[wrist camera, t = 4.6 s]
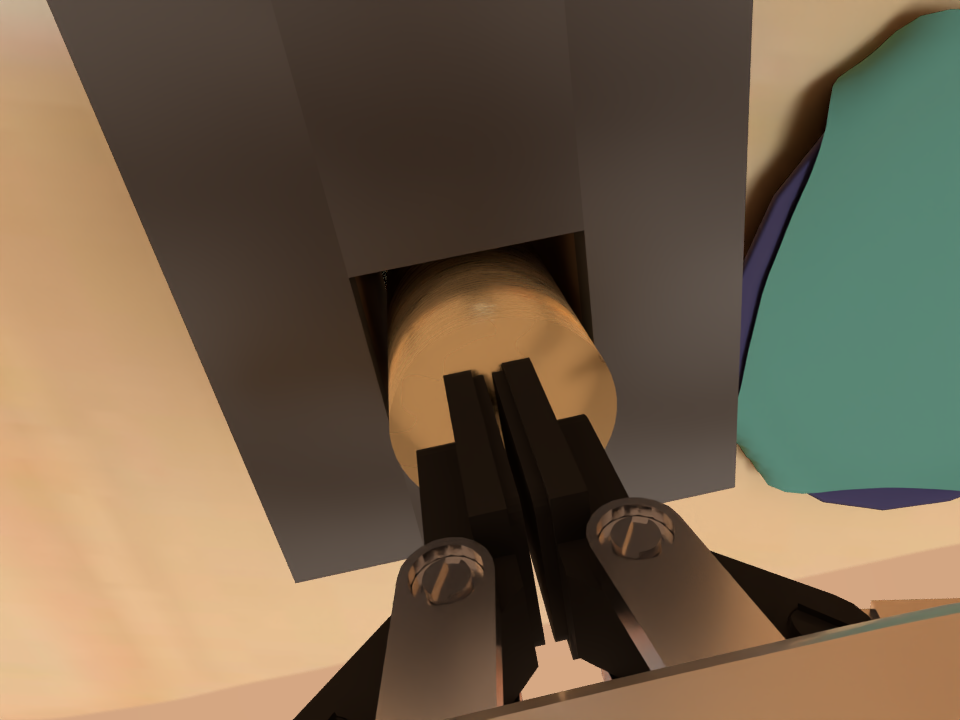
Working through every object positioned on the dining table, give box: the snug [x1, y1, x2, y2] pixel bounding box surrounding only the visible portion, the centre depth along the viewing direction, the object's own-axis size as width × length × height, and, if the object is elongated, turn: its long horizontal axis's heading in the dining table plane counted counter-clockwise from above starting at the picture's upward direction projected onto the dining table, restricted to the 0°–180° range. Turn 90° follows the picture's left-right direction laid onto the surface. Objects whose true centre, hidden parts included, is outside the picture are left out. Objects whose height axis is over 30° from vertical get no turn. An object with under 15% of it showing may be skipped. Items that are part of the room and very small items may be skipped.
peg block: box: [47, 0, 753, 583], centre depth 16 cm, size 22×12×8 cm, turn 9°
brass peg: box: [386, 241, 617, 487], centre depth 16 cm, size 4×4×7 cm
